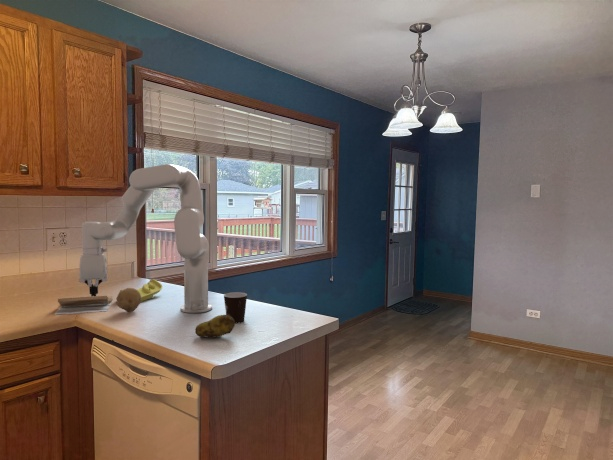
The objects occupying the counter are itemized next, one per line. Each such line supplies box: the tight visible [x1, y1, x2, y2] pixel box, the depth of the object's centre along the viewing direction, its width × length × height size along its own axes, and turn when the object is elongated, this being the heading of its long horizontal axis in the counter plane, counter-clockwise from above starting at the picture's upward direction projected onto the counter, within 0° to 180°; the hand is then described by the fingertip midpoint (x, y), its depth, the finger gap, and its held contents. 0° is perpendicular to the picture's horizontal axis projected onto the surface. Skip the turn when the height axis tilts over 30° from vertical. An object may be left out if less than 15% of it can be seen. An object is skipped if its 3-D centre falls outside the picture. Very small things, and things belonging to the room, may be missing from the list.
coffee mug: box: [223, 291, 248, 325], centre depth 160 cm, size 12×9×10 cm
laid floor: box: [53, 296, 113, 316], centre depth 181 cm, size 21×19×1 cm
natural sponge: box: [116, 287, 141, 313], centre depth 172 cm, size 9×9×10 cm
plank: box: [57, 295, 109, 307], centre depth 179 cm, size 8×18×1 cm, turn 109°
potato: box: [194, 314, 236, 339], centre depth 142 cm, size 8×13×8 cm, turn 62°
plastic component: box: [116, 278, 163, 303], centre depth 197 cm, size 20×7×10 cm
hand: (93, 295), depth 178 cm, fingers closed
